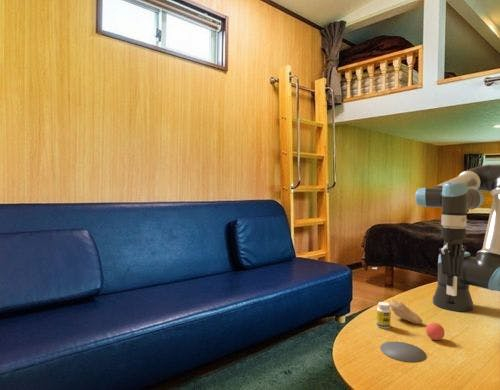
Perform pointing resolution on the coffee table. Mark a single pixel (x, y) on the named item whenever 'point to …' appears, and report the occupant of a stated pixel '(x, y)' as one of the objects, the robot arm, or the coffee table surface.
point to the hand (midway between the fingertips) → (451, 294)
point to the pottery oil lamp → (404, 312)
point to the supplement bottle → (383, 315)
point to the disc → (403, 351)
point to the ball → (435, 331)
